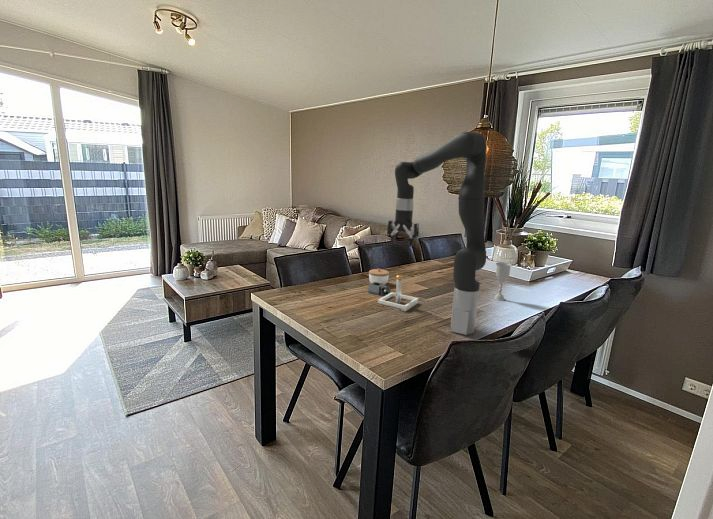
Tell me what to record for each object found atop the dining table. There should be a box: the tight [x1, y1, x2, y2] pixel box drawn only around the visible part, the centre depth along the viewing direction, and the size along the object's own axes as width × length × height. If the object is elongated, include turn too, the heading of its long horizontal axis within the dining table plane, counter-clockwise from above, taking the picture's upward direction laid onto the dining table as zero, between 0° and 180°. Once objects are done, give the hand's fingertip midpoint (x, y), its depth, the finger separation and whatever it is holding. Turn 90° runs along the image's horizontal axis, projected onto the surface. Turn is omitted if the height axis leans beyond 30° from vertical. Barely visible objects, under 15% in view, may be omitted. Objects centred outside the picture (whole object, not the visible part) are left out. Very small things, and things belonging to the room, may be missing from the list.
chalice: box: [493, 262, 513, 302], centre depth 187 cm, size 7×7×18 cm
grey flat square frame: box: [377, 291, 419, 312], centre depth 176 cm, size 14×14×2 cm
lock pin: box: [394, 274, 404, 304], centre depth 175 cm, size 3×3×13 cm
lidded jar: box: [368, 267, 390, 285], centre depth 203 cm, size 11×11×9 cm
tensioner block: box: [364, 282, 395, 298], centre depth 189 cm, size 9×12×5 cm
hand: (401, 245), depth 170 cm, fingers open, 8 cm apart
